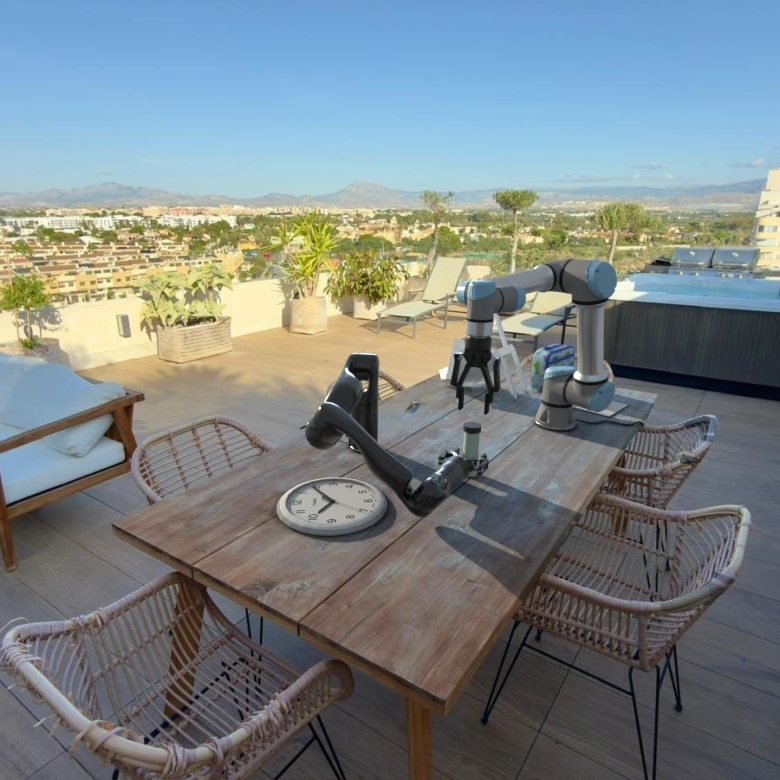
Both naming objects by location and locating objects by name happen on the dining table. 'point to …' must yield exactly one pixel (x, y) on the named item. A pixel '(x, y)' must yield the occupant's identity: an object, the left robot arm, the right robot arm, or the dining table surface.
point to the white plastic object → (476, 374)
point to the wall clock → (331, 506)
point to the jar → (471, 448)
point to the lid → (472, 427)
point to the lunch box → (550, 361)
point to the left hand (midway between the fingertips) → (471, 453)
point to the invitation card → (607, 409)
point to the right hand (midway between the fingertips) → (473, 410)
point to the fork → (413, 403)
